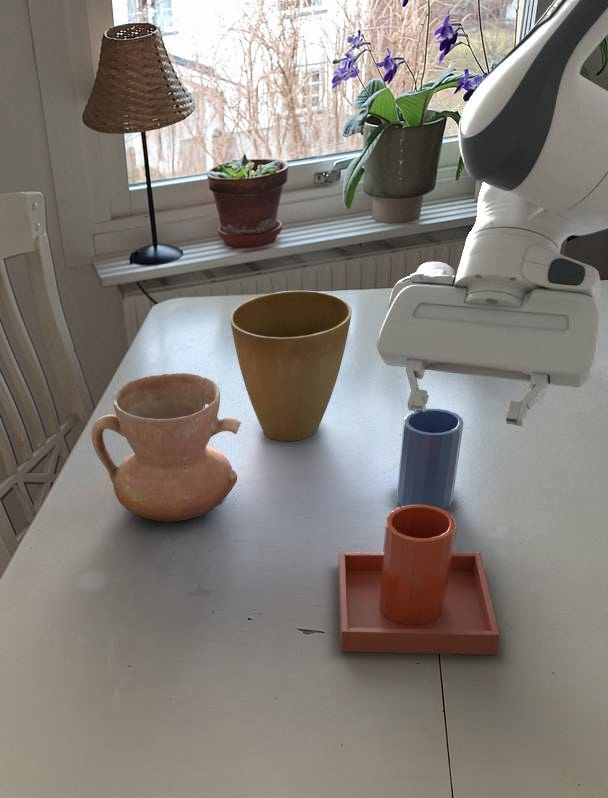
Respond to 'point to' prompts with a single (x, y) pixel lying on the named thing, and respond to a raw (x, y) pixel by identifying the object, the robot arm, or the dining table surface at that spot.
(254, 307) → the plant pot
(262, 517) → the dining table surface
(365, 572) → the clay-red tray
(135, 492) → the ceramic jug
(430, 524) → the terracotta cup
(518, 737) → the dining table surface
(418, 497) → the slate-blue cup
